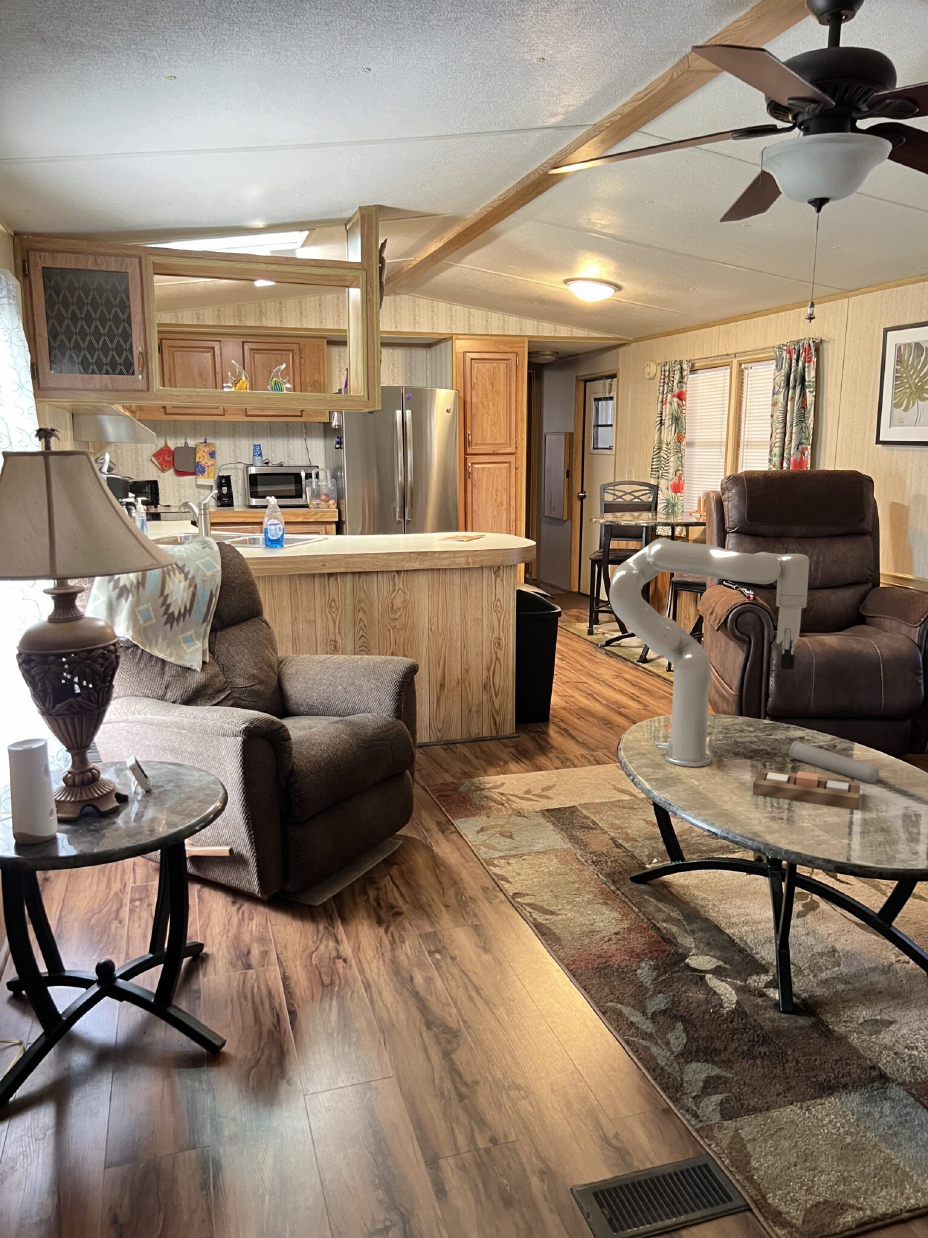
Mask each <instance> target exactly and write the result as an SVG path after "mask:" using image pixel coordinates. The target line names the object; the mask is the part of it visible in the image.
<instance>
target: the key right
mask: <svg viewBox="0 0 928 1238" xmlns="http://www.w3.org/2000/svg"><path fill="white" fill-rule="evenodd" d="M848 786H849V783H844V782H837V781H829V780H828V782H827V786H826V789H829V790H836V791H843V792H848Z"/></svg>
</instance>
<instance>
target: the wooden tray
mask: <svg viewBox="0 0 928 1238" xmlns="http://www.w3.org/2000/svg"><path fill="white" fill-rule="evenodd" d="M769 772H770V773H777V774H785V775H789V776H788V784H786V783H779V782H772V781H766V778H767V775H768V773H769ZM797 773H798V772H791V771H789V772H788V771H783V770H781V771H780V770H774V769H766V768H759V770H758V772H757V774H756V776H755V779H754V780H753V783H752V785H753V786H752V795H754V796H761V797H767V798H768V797H769V798H774V799H782V800H788V801H794V802H795V801H796V802H801V803H809V804H815V805H821V806H829V807H834V808H835V807H836V808H842V809H850V810H857V811H858V810H859V806H860V805H859V804H860V803H859V802H860V795H861V794H860V793H861V783H862V781H857V780H847V779H839V778H833V777H827V776H826V777H825V776H818V787H817V788H814V787H807V786H800V785H796V777H797ZM828 780H829V781H837V782H844V783H849V786H848V792H843V791H836V790H829V789H826V786H827V782H828Z"/></svg>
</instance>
